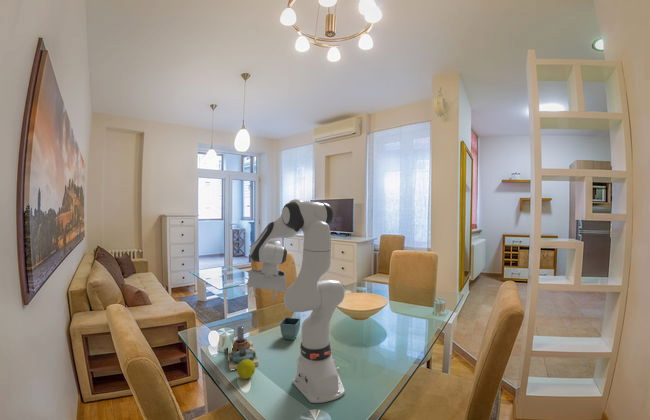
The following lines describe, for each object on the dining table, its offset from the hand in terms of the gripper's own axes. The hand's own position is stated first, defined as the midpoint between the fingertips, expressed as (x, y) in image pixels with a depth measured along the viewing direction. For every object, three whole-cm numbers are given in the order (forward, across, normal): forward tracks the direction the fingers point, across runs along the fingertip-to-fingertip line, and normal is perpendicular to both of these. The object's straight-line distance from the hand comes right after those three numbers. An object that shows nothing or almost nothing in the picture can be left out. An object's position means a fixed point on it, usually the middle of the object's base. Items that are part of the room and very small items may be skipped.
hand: (264, 298), depth 151 cm
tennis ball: (+31, -5, -23) cm, 39 cm away
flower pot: (+18, +18, +5) cm, 26 cm away
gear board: (+27, -6, -6) cm, 28 cm away
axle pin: (+24, -7, -2) cm, 25 cm away
